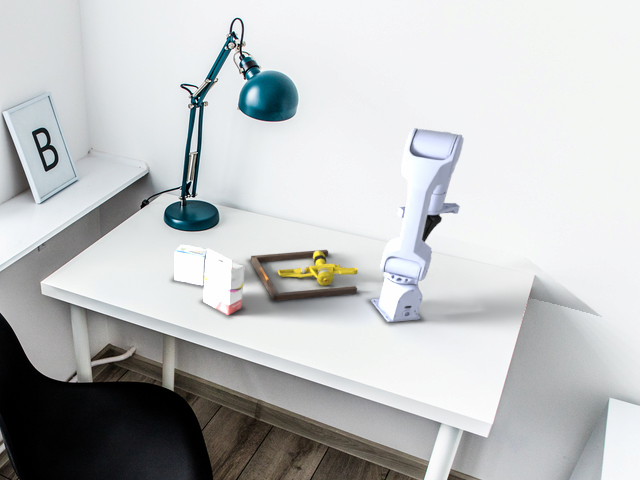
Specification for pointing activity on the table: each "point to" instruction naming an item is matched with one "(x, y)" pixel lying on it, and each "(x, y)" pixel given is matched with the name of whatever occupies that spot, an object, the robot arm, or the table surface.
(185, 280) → the medicine box
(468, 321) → the table surface
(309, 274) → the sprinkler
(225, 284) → the ink cartridge box
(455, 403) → the table surface
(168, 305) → the table surface
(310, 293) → the frame
